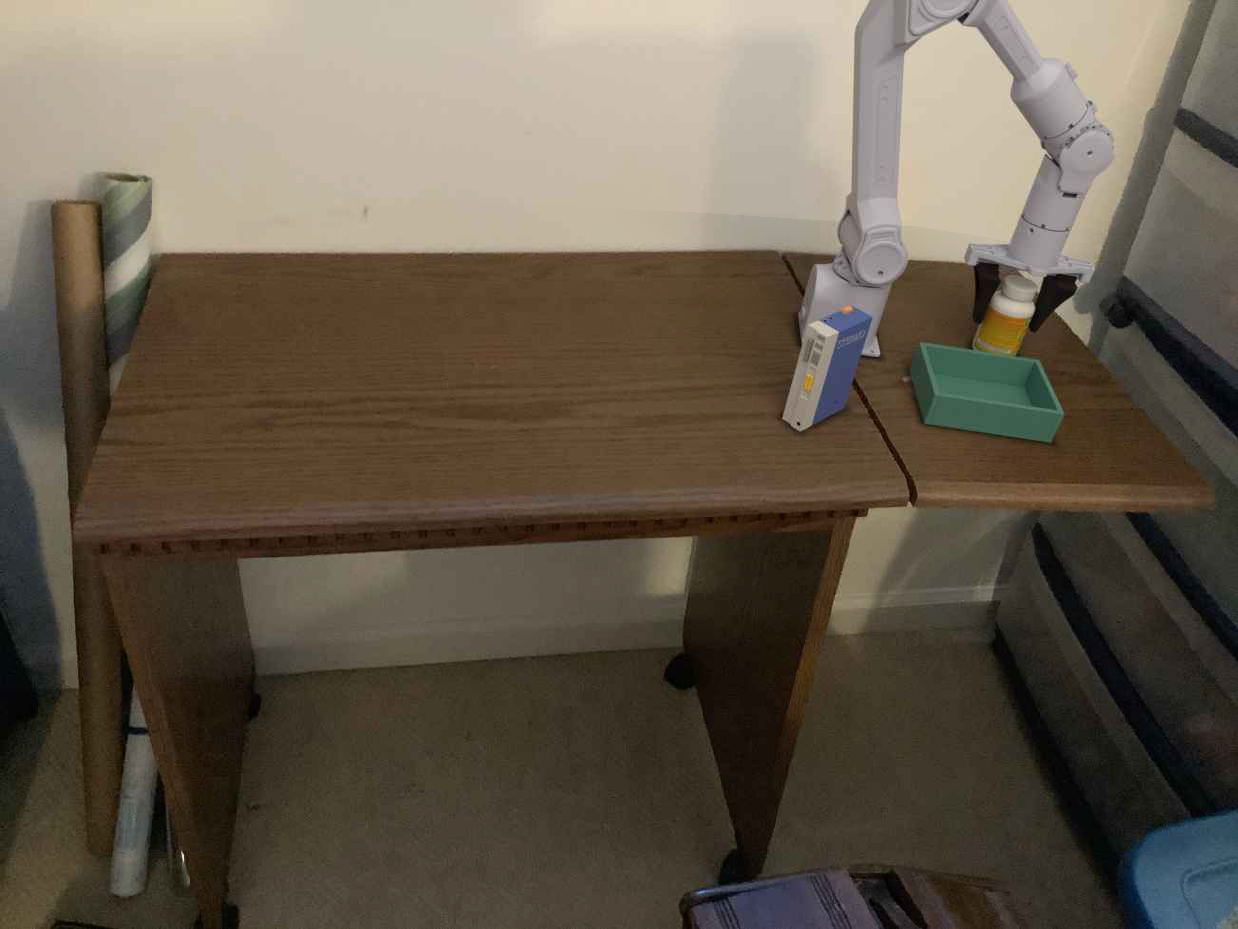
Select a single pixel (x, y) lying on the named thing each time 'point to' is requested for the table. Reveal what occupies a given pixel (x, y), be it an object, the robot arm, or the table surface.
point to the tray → (985, 392)
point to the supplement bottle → (1007, 317)
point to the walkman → (826, 367)
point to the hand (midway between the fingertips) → (1003, 324)
